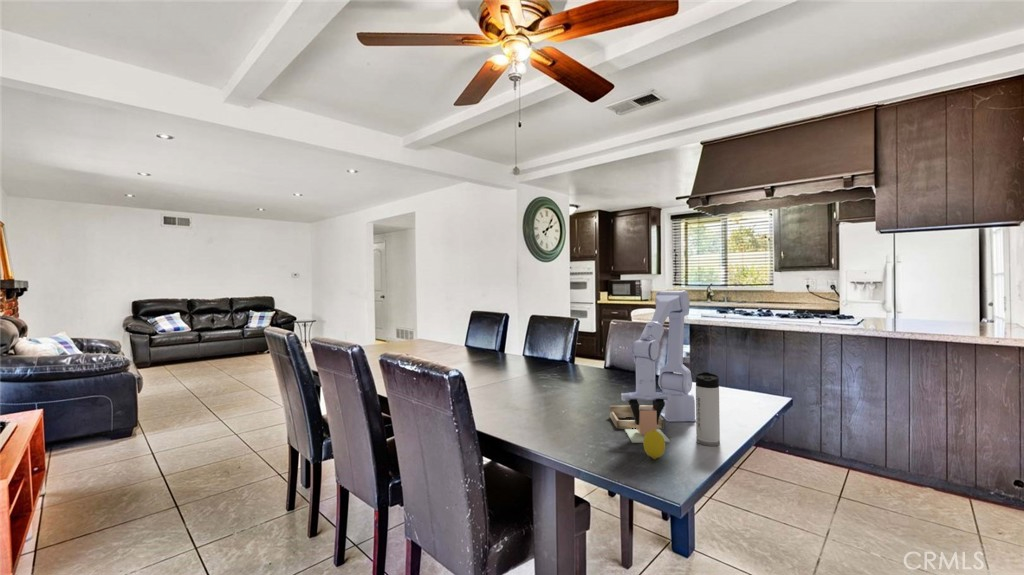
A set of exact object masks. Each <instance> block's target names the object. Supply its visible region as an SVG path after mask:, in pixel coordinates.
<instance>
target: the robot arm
mask: <svg viewBox="0 0 1024 575" xmlns="http://www.w3.org/2000/svg"><path fill="white" fill-rule="evenodd" d="M690 301H691V299H690V296H689V292H687V291H686V290H685V289H683V290H660V289H659V290H658V291H657V292H656V293H655V296H654V304H655V309H654V313H653V314H652V315H653V316H652V319H651V321H648V322H647V323H646V324H645V326H644V328H643V330H642V333H641V335H640V336H639V339H637V340H635V341H634V342H633V343H632V347H631V355H632V357H633V363H634V364H635V391H632V392H625V393H624V392H621V398H620V399H621V401H622V402H628V404H629V406H630V407H631V409H632V412H633V415H634V419H633V420H635V423H636V425H639V405H640V404H639V401H652V405H653V408H654V409H655V410H656V411H657V425H658V420H659V416H660V415H661V416H662V418H663V419H664V420H665V421H666V422H672V423H673V422H674V423H675V422H696V399H695V396H694V394H693V393H692V392H691V391H692V388H693V379H692V372H691V370H690V369H689V368H688V367H687V366H685V364H683V362H684V337H685V336H684V335H685V333H684V332H685V319H686V318H685V317H686V316H688V315H689V314H690ZM667 319H668V340H667V341H668V342H667V363H666V364H664V365H663V366H662V367H661V368H660V369H659V375H658V380H657V384H658V387H660V390H661V392H660V391H656V388H657V386H656V360H657V358H658V356H659V350H660V341H661V340H662V337H663V335H664V332H665V329H664V327H663V326H664V324H665V322H666V321H667ZM663 409H664V410H663ZM662 411H664V412H662ZM661 416H660V417H661Z"/></svg>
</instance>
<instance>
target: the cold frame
mask: <svg viewBox="0 0 1024 575" xmlns="http://www.w3.org/2000/svg"><path fill="white" fill-rule="evenodd" d="M639 406H652V407H653V404H652V405H649V404H647V405H646V404H645V405H644V404H642V405H641V404H639ZM609 417H610V419H611V421H612V422H613V424H614V426H615V428H616V429H617V430H622V429H623V430H625V429H632V428H633V429H635V428H636V423H635V419H630V420H629V419H626V417H634V415H633V412H632V409H631V407H630V405H610V406H609ZM619 418H620V419H619ZM623 418H624V419H623ZM622 419H623V420H622ZM657 429H665V419H664V418H663V417H661V416H659V420H658V425H657Z"/></svg>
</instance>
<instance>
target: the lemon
mask: <svg viewBox="0 0 1024 575" xmlns="http://www.w3.org/2000/svg"><path fill="white" fill-rule="evenodd" d="M642 445H643V450H644V451H645V453H646V454H647V456H648V457H650V458H652V459H653V460H657V458H660V457H662V456H663V454H664V453H665V451H666V442H665V441H664V438H663V436H662V435H661V433H659V432H658V431H656V430H654V429H653V430H652V431H649V432H647V433H646V435H645V437H644V441H643V444H642Z"/></svg>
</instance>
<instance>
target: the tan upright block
mask: <svg viewBox="0 0 1024 575" xmlns="http://www.w3.org/2000/svg"><path fill="white" fill-rule="evenodd" d="M636 429H637V431H638V432H639V433H640V434H646V433H647V432H649V431H652V430H653V429H654V430H656V431H657V429H658V428H657V411H656V410H655V409H654V408H653V407H652V406H639V425H636Z"/></svg>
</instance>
